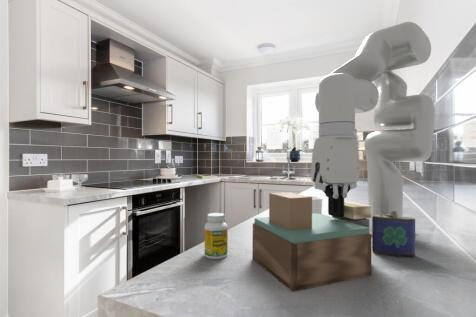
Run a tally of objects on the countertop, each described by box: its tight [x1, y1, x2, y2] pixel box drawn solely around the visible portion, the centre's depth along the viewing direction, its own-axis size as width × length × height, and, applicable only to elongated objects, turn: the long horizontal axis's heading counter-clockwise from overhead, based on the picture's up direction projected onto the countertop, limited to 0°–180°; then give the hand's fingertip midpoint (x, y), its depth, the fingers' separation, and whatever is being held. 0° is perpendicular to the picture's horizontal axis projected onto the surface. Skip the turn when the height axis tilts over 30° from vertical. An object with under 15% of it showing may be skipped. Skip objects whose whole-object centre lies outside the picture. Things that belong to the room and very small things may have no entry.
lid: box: [254, 191, 369, 244], centre depth 56 cm, size 17×15×7 cm
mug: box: [309, 195, 323, 214], centre depth 86 cm, size 11×9×10 cm
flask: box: [371, 210, 416, 258], centre depth 64 cm, size 9×3×11 cm, turn 74°
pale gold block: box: [344, 201, 371, 219], centre depth 61 cm, size 5×6×3 cm
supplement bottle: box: [204, 212, 229, 260], centre depth 63 cm, size 5×5×10 cm
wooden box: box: [251, 216, 372, 292], centre depth 57 cm, size 23×16×10 cm
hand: (336, 215), depth 59 cm, fingers closed
